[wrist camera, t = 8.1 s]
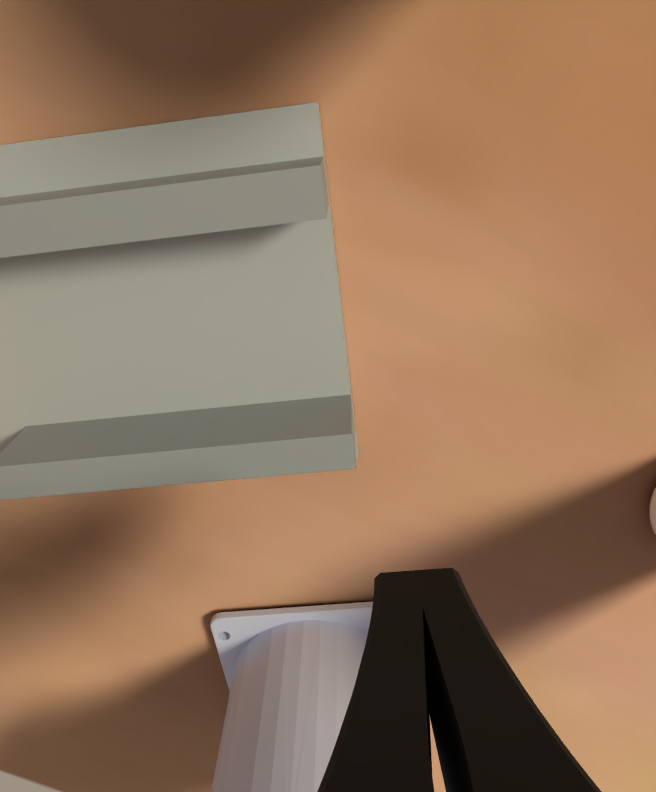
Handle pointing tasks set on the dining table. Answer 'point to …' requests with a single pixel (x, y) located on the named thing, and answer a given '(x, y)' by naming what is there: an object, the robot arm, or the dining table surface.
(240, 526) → the dining table surface
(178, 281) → the chute
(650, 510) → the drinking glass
